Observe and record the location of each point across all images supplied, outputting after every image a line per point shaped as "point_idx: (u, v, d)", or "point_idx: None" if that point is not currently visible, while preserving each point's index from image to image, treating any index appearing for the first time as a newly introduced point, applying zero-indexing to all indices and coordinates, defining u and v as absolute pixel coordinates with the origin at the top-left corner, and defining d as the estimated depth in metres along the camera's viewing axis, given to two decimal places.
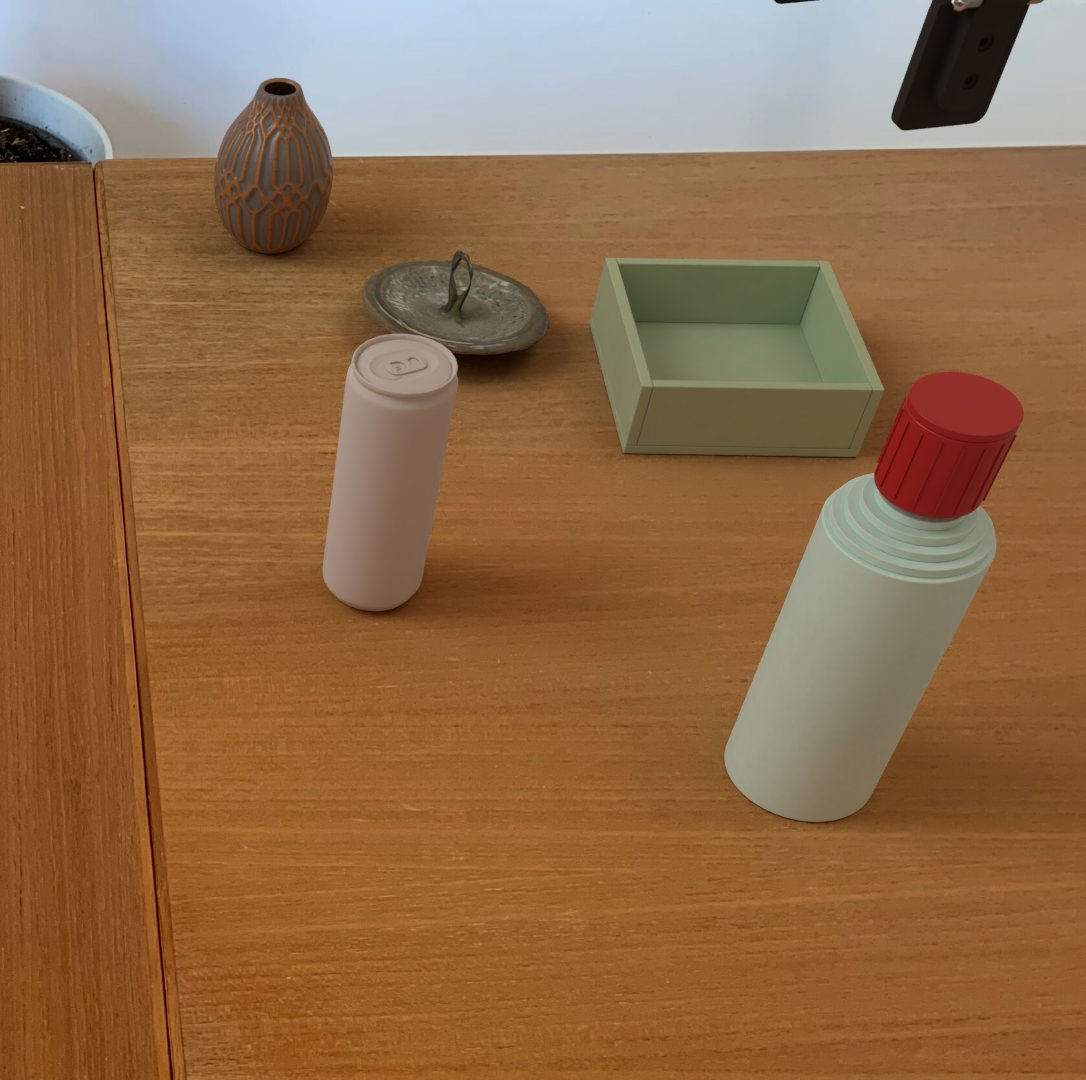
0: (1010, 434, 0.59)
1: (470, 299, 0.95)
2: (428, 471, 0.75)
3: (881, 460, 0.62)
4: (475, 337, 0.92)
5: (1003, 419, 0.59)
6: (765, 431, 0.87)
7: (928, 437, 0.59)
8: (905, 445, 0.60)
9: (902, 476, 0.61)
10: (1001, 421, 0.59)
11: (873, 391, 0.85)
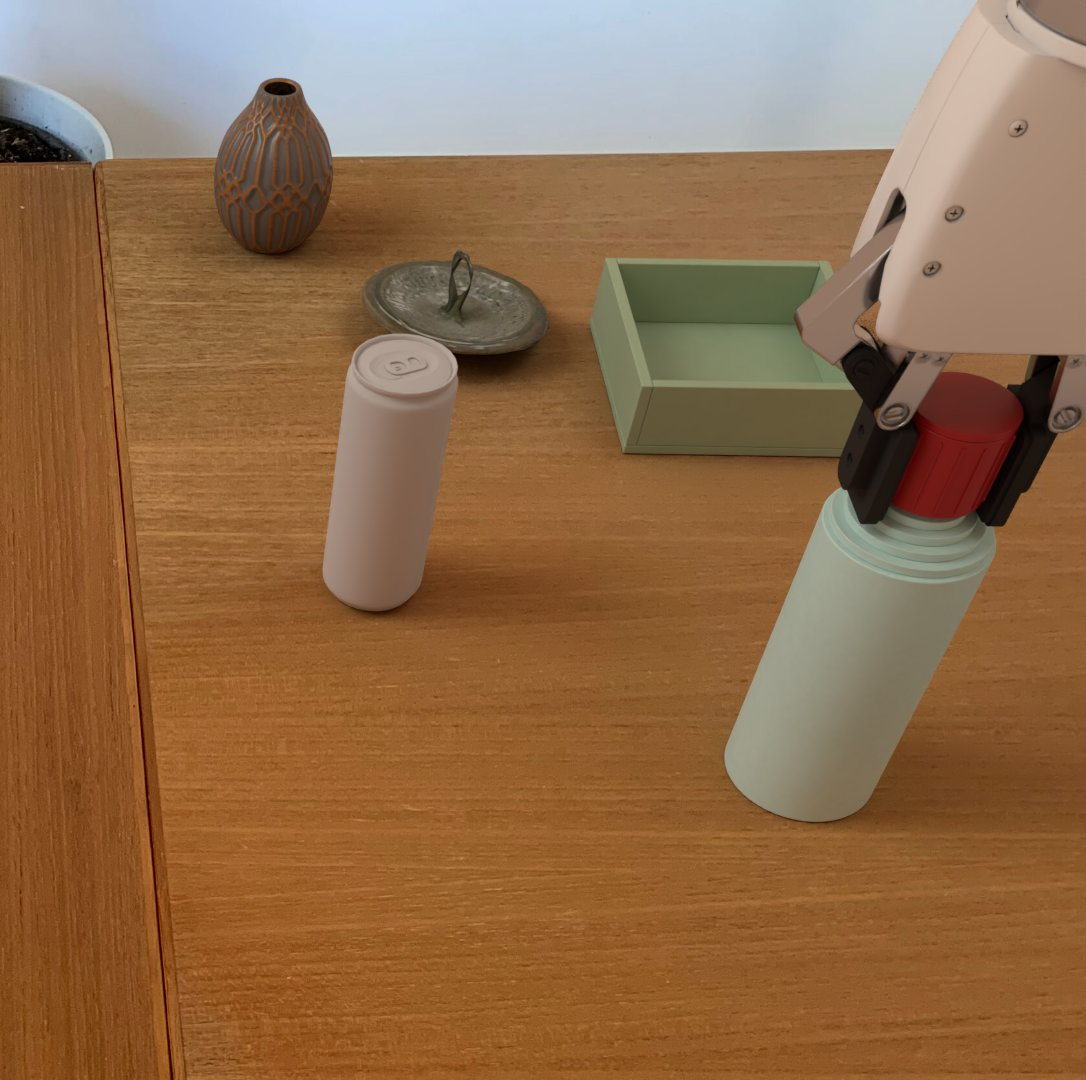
0: (1010, 434, 0.59)
1: (470, 299, 0.95)
2: (428, 471, 0.75)
3: None
4: (475, 337, 0.92)
5: (1003, 419, 0.59)
6: (765, 431, 0.87)
7: (928, 437, 0.59)
8: None
9: (902, 477, 0.61)
10: (1001, 421, 0.59)
11: None
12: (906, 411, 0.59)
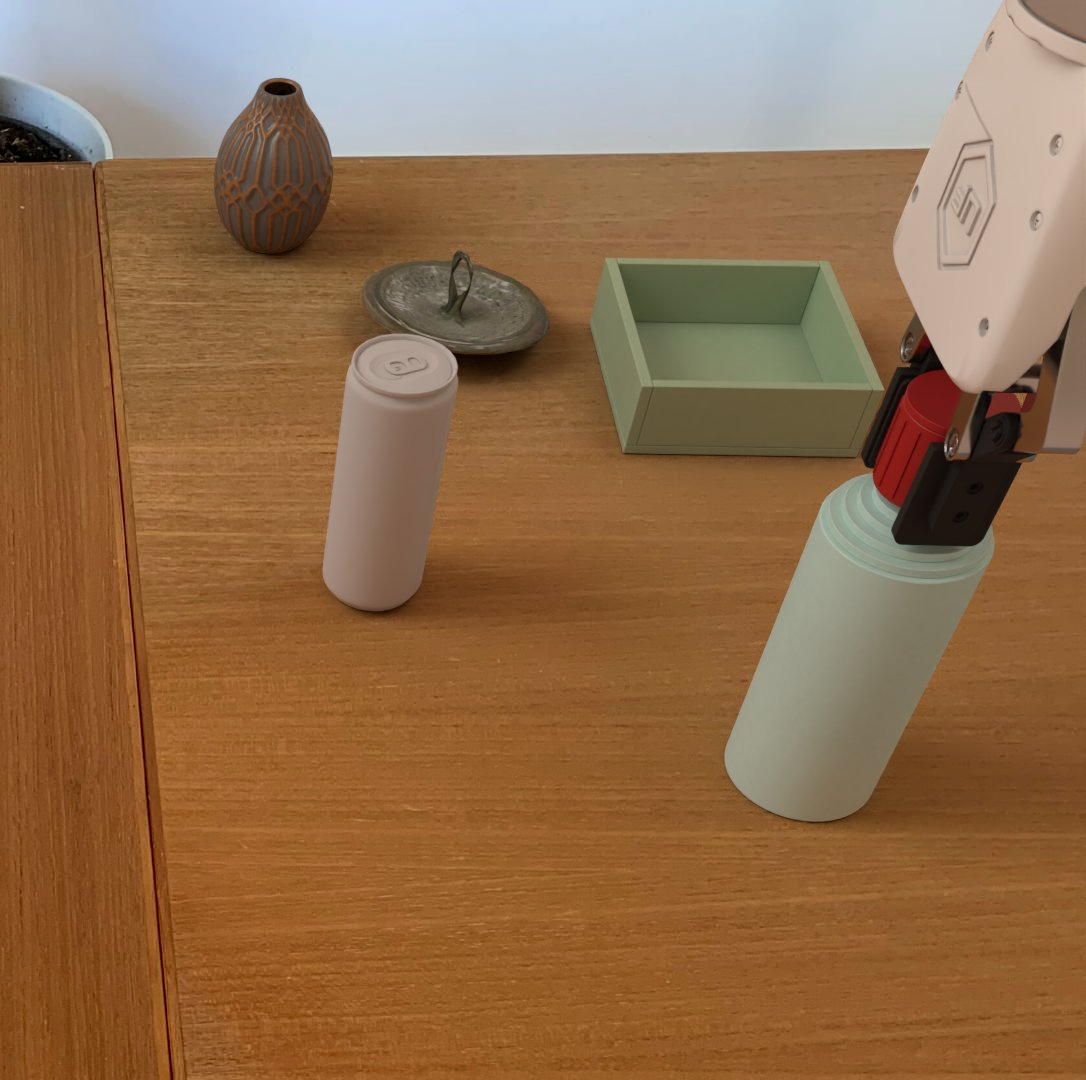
0: None
1: (470, 299, 0.95)
2: (428, 471, 0.75)
3: None
4: (475, 337, 0.92)
5: None
6: (765, 431, 0.87)
7: None
8: None
9: None
10: None
11: (873, 391, 0.85)
12: None
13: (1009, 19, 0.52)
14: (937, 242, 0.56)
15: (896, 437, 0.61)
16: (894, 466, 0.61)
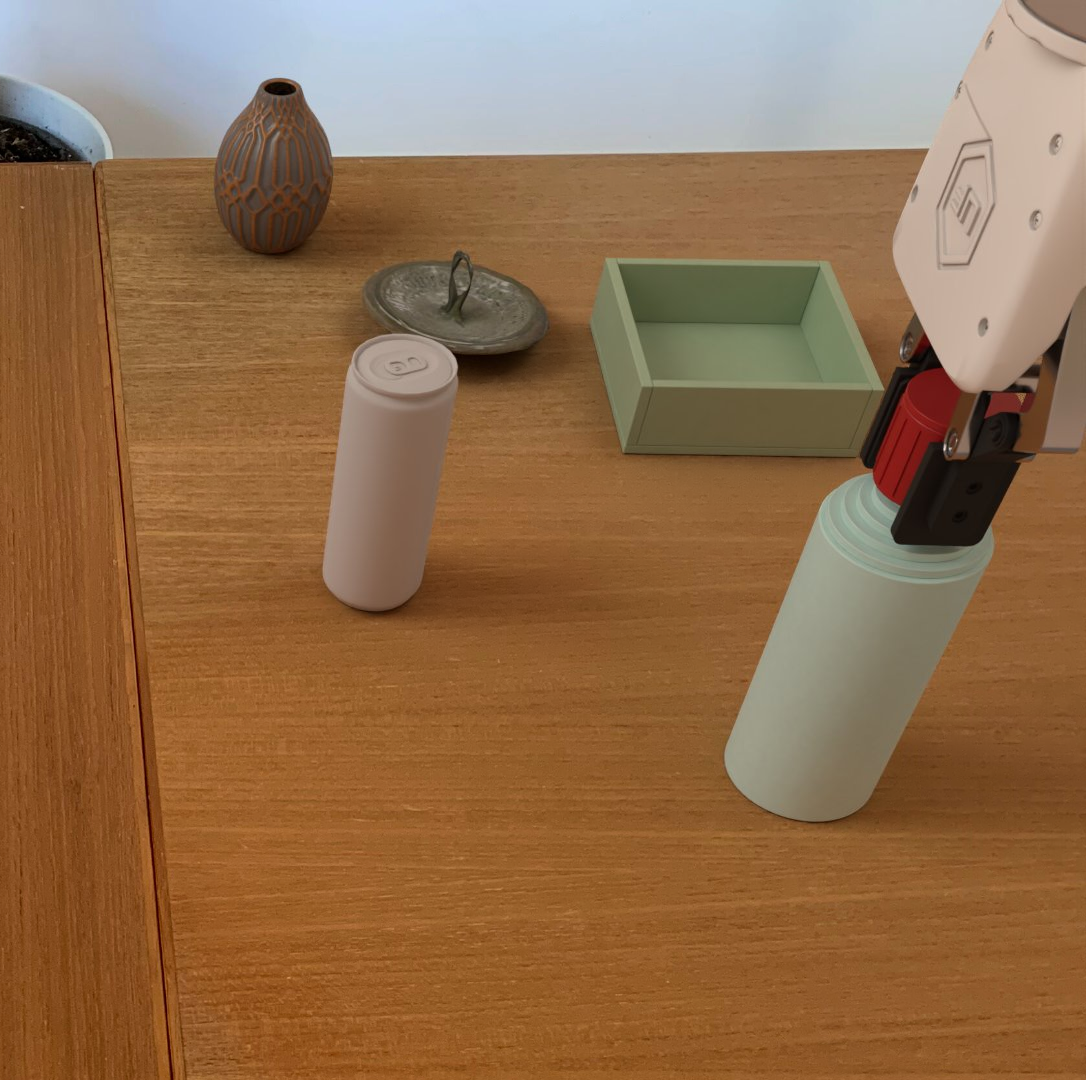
0: None
1: (470, 299, 0.95)
2: (428, 471, 0.75)
3: None
4: (475, 337, 0.92)
5: (927, 382, 0.60)
6: (765, 431, 0.87)
7: None
8: None
9: None
10: (929, 380, 0.60)
11: (873, 391, 0.85)
12: None
13: (1009, 19, 0.52)
14: (936, 242, 0.56)
15: None
16: None
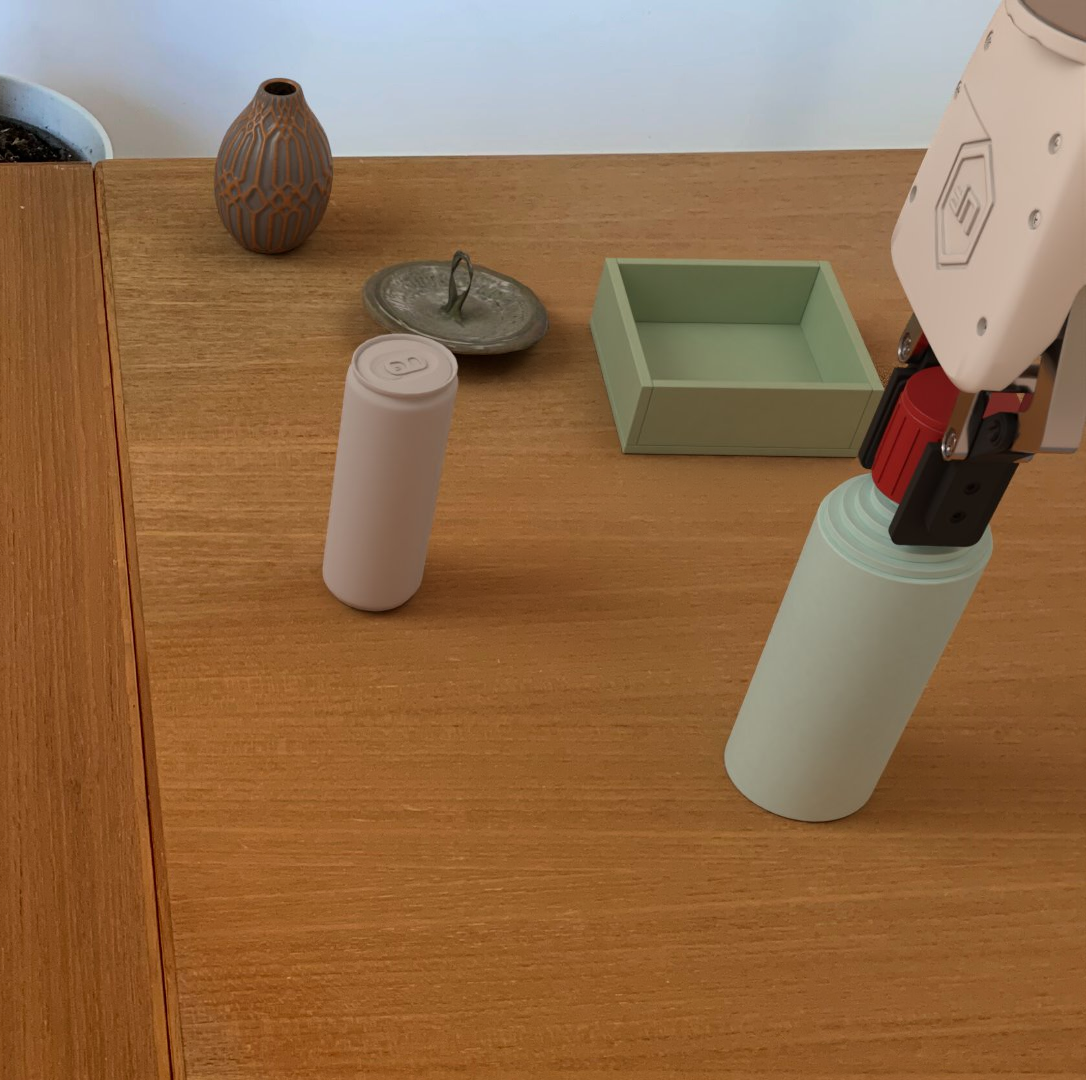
0: (925, 422, 0.59)
1: (470, 299, 0.95)
2: (428, 471, 0.75)
3: None
4: (475, 337, 0.92)
5: (943, 414, 0.59)
6: (765, 431, 0.87)
7: None
8: None
9: None
10: (938, 412, 0.59)
11: (873, 391, 0.85)
12: None
13: (1008, 18, 0.52)
14: (935, 242, 0.56)
15: None
16: None
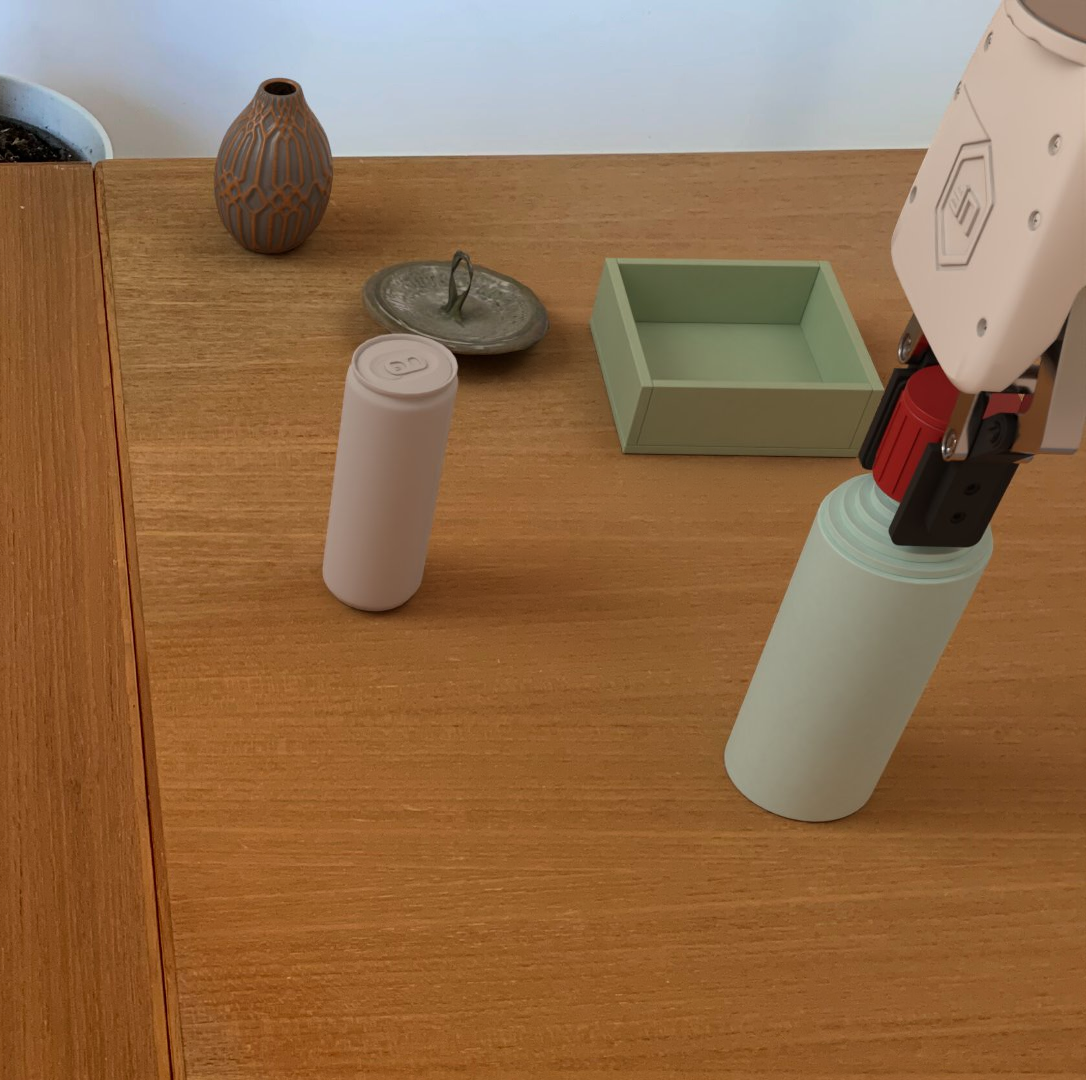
0: None
1: (470, 299, 0.95)
2: (428, 471, 0.75)
3: (879, 454, 0.62)
4: (475, 337, 0.92)
5: None
6: (765, 431, 0.87)
7: (926, 430, 0.59)
8: (903, 439, 0.60)
9: (900, 470, 0.61)
10: None
11: (873, 391, 0.85)
12: None
13: (1008, 19, 0.52)
14: (935, 242, 0.56)
15: None
16: None
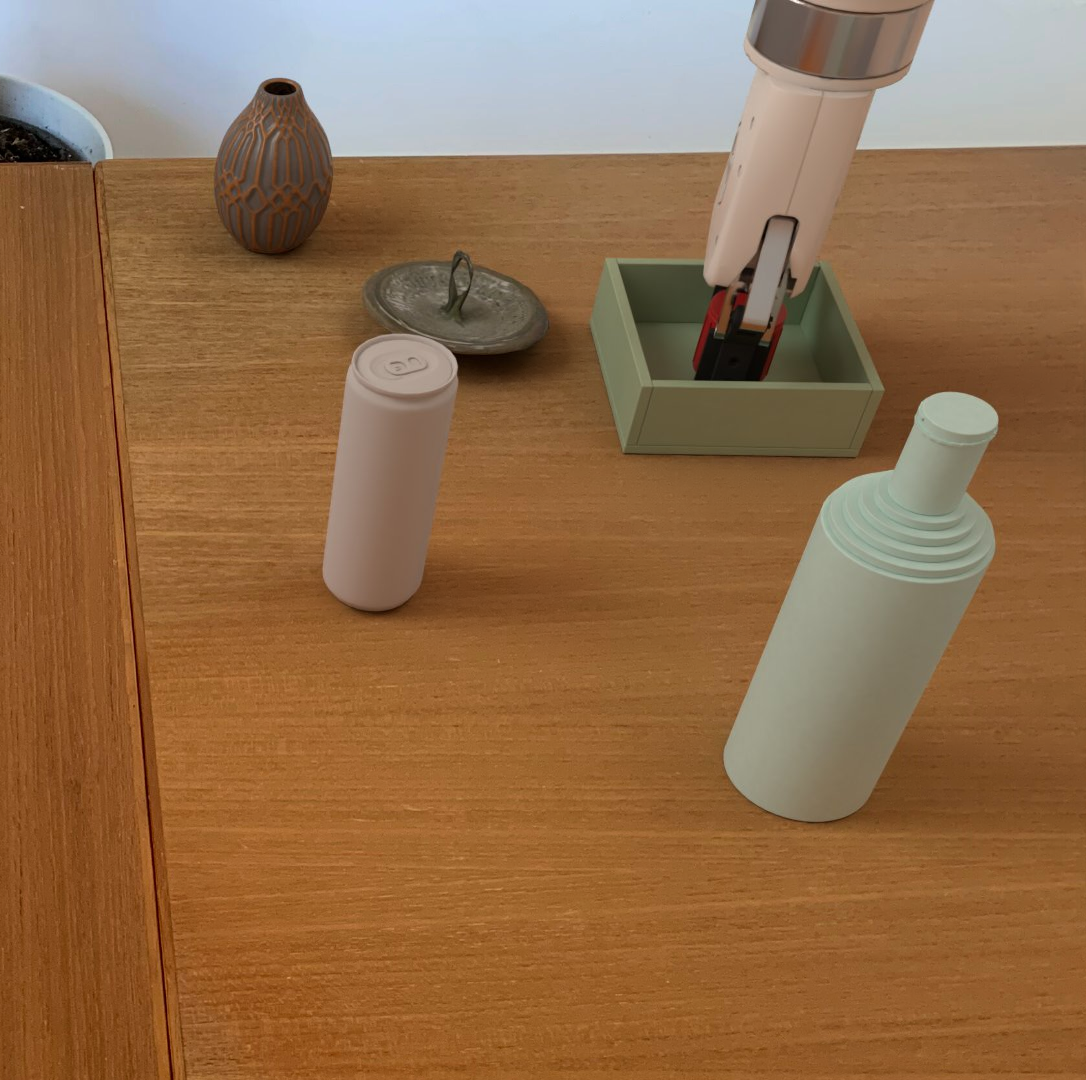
0: None
1: (470, 299, 0.95)
2: (428, 471, 0.75)
3: None
4: (475, 337, 0.92)
5: None
6: (765, 431, 0.87)
7: None
8: None
9: None
10: None
11: (873, 391, 0.85)
12: None
13: None
14: (720, 190, 0.85)
15: None
16: (699, 347, 0.90)
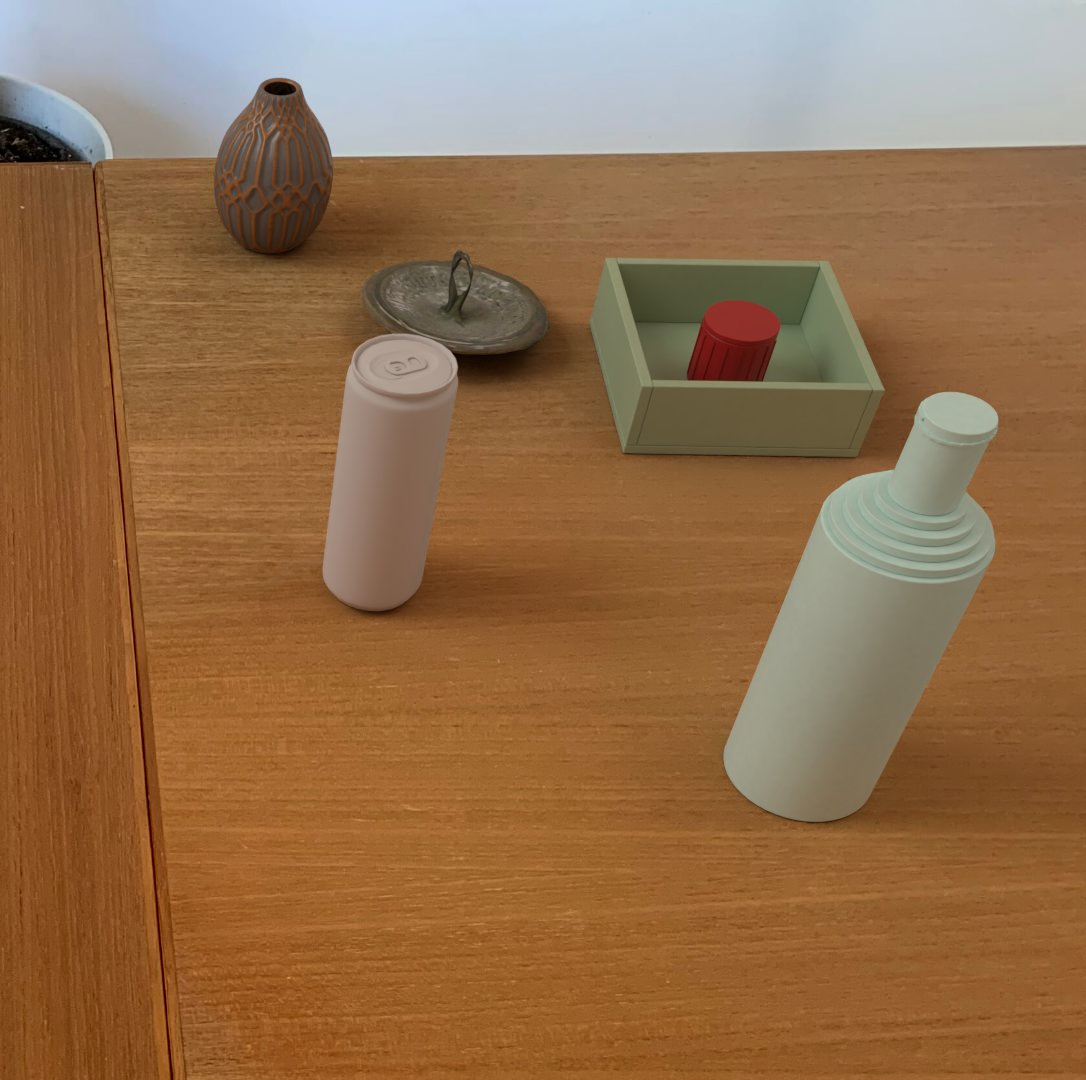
0: None
1: (470, 299, 0.95)
2: (428, 471, 0.75)
3: None
4: (475, 337, 0.92)
5: (763, 313, 0.89)
6: (765, 431, 0.87)
7: (760, 349, 0.88)
8: (743, 364, 0.89)
9: None
10: (765, 315, 0.89)
11: (873, 391, 0.85)
12: None
13: None
14: None
15: None
16: (694, 359, 0.90)
